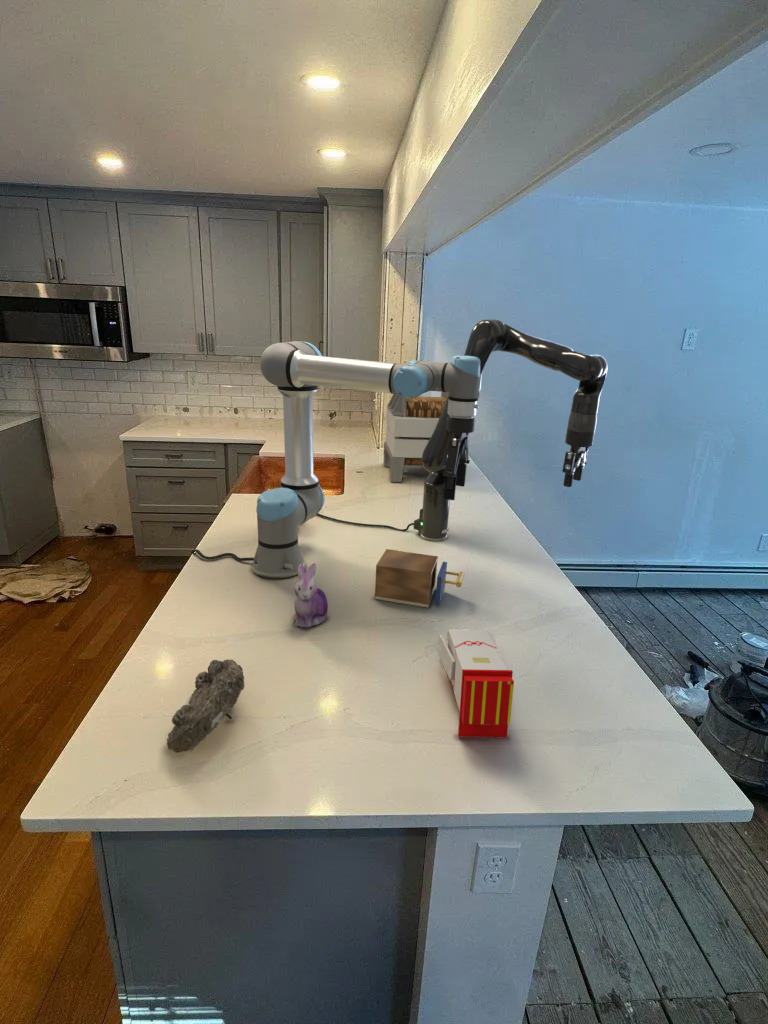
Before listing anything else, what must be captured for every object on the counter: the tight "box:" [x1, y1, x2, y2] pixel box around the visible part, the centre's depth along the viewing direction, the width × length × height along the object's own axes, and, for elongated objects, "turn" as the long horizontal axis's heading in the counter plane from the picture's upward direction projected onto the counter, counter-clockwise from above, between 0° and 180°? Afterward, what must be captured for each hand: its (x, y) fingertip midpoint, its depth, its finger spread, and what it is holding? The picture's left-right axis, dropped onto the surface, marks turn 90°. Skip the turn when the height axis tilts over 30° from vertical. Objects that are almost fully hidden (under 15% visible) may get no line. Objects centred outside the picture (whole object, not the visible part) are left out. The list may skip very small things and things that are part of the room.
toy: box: [437, 628, 515, 738], centre depth 117 cm, size 12×13×30 cm
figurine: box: [293, 562, 329, 628], centre depth 140 cm, size 9×10×15 cm
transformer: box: [383, 392, 449, 483], centre depth 268 cm, size 34×33×41 cm
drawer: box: [430, 561, 465, 605], centre depth 155 cm, size 19×10×8 cm, turn 76°
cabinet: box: [374, 548, 439, 608], centre depth 156 cm, size 15×11×10 cm
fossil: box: [166, 658, 245, 754], centre depth 106 cm, size 22×10×15 cm
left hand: (454, 492), depth 158 cm, fingers open, 13 cm apart
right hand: (572, 483), depth 165 cm, fingers open, 8 cm apart
